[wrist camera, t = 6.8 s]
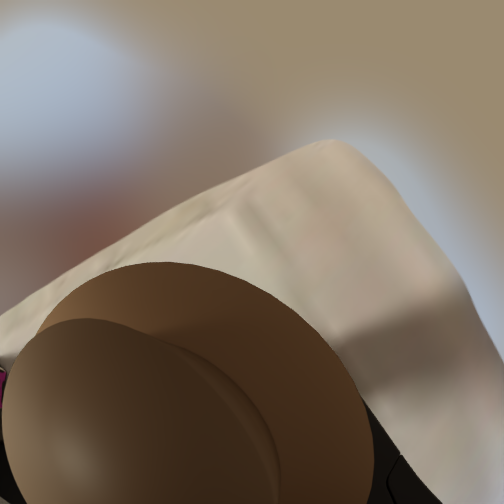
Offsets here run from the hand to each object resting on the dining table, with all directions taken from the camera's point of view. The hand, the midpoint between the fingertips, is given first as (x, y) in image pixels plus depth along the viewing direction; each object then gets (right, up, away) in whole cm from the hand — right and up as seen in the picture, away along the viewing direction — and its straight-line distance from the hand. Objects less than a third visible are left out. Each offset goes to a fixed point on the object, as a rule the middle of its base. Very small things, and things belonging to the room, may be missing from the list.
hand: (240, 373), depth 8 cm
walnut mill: (+1, -4, +5) cm, 7 cm away
